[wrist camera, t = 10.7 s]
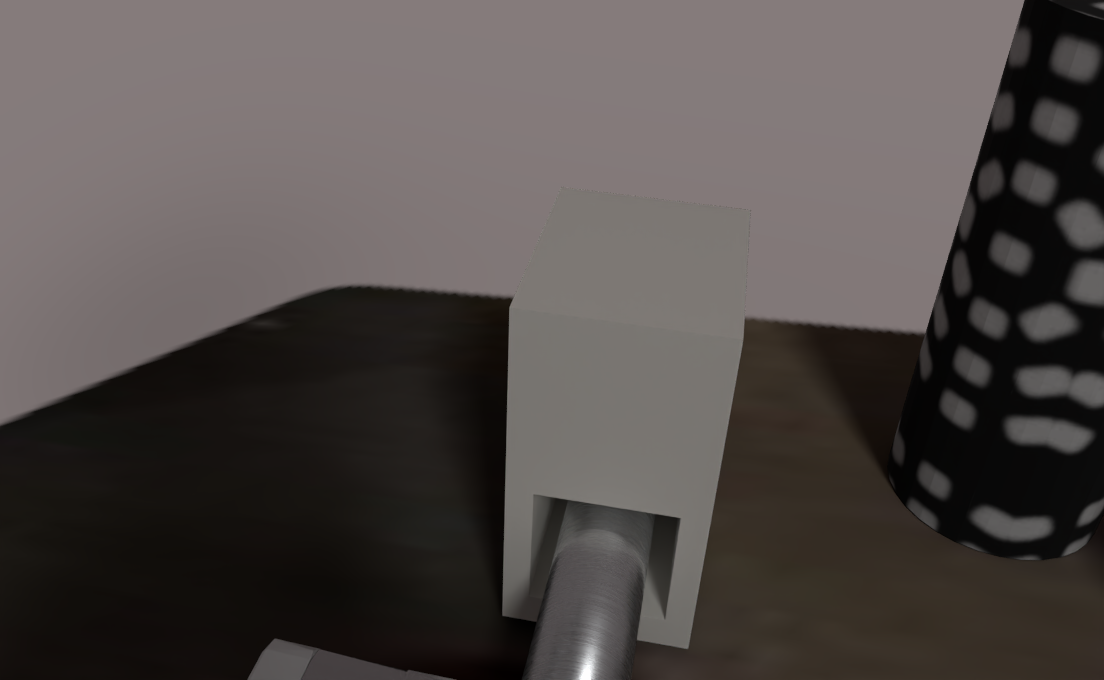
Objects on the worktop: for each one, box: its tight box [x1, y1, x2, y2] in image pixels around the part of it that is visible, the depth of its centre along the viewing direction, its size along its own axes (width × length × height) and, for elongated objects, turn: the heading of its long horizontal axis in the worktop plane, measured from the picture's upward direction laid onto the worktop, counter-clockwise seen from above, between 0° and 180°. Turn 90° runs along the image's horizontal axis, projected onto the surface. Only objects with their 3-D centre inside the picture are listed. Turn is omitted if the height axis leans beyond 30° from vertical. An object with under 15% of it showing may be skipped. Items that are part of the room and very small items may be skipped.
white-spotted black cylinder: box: [888, 0, 1104, 560], centre depth 37 cm, size 8×8×20 cm
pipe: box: [522, 500, 656, 680], centre depth 35 cm, size 23×5×8 cm, turn 169°
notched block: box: [502, 187, 751, 649], centre depth 34 cm, size 8×6×12 cm
